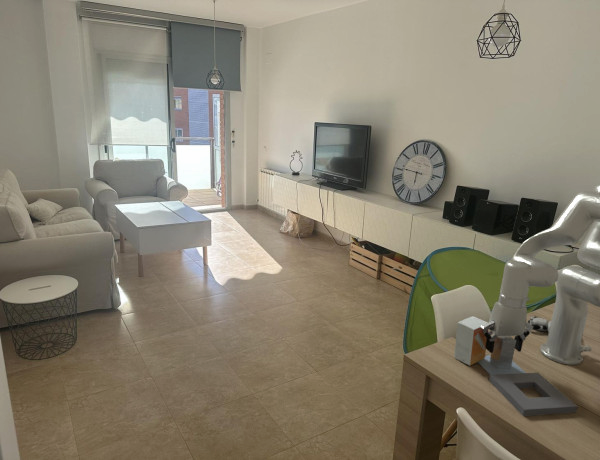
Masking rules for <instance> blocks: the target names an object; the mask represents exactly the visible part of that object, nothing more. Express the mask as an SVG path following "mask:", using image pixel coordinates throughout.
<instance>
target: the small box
mask: <svg viewBox="0 0 600 460" xmlns="http://www.w3.org/2000/svg"><path fill="white" fill-rule="evenodd" d="M487 323H489V321H485V320H483V319H480V318H478V317H476V316H473V315H472V316H470V317H467V318H464V319H462V320H460V321H458V322H457V324H456V326H457V327H456V335H455V346H454V347H455V348H454V354H453V355H454V358H455V359H456V360H458V361H460V362H461V363H464V364H466V365H468V366H472V365H474V364H477V363H478V361H480V360H482V359H484V358H485V356H486V353H487V351H486V350H487V349H486V348H485V345H486V339H487V338H486V337H485V336H484V334H483V333H482V330H481V326H483V325H485V324H487ZM487 331H488V332H489V329H488V330H487Z"/></svg>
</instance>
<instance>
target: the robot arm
mask: <svg viewBox="0 0 600 460" xmlns="http://www.w3.org/2000/svg"><path fill="white" fill-rule="evenodd" d="M569 201H570V202H569V203H568V204H567V205H566V207H565V208H564V209H563V211H562V212H561V213H560V214H559V216H558V217H557V219H556V220H555V221H554V223H553V224H552V225H551V226H550V227H549V228H547V229H544V230H541V231H540V232H538V233H536V234H534V235H532V236H530V237H529V238H528V239H526V240H525V241H523V242H522V244H521V245H520V246H519V247H518V249H517V250H516V251H515V253H514V254H513V256H512V258H511V259H510V260H508V261H506V263H505V264H504V268H503V275H502V280H501V286H500V290H499V297H498V301H496V302H495V303H494V305H493V307H492V310H491V313H490V316H489V320H488V323H487V324H485V325H483V326H481V330H482V333H483V334H484V336H485V337H486V338H487V339H486V345H485V348H486V350H487V351H488V352H489V353H490V354H491V353H493V349H494V344H495V342H494V341H493V340H494V339H495V338H496V337H497V336H511V337H514V338H513V339H515V340H516V344H515V350H516V351H517V352H519V353H520V352H522V348H523V345H524V341H525V340H526V338H527V337H528V336H529V335H530V334H531V331H533V330H532V329H533V326H532V325H531V324H529V323H528V321H527V318H528V315H527V314H528V310H527V307H528V306H526V305H527V302H528V301H529V300H530V297H529V296H528V295H529V294H528V293H529V291H530V290H529V289H530V287H535V288H547V287H551V286H553V285H554V284H556V297H555V303H554V307H553V312H552V315H551V319H550V321H551V325H550V330H549V332H548V334H547V340H546V342H544V343H541V345H540V346H539V348H540V349H539V350H540V352H541V354H543V356H545V357H546V358H548V359H550V360H551V361H555V362H556V363H560V364H565V365H573V366H574V365H575V366H576V365H580V364H581V363H582V362H583V359H584V358H583V356H582V353H584V352H591V351H592V347H591V346H590V345H583V344H582V340H583V335H584V330H585V327H586V322H587V319H588V316H589V315H588V313H589V306H588V303H589V304H591V305H593V306H596V307H598V308H600V273H597V272H595V271H592V270H590V269H587V268H584V267H581V266H577V265H567V266H564V267H562V268H561V269H560V270H559V271H558V269H557V268H556V267H555V266H554V265H552V264H550V263H548V262H545V261H543V260H541V259H539V258H535V257H536V256H537V255H538V254H539V253H540V252H542V251H545V250H547V249H549V248H553V247H562V246H569V245H575V244H578V243H579V242H580V241H581V239H582V237H583V236H584V235H585V234H586V232H587V231H588V230H589V228H590V230H589V231H588V233H587V234H586V236H585V238H584V239H583V241H582V243H581V245H580V246H579V248H578V250H577V255H576V256H577V259H578V261H579V262H581V263H582V264H584V265H585V266H588V267H591V268H594V269H596V270H599V271H600V183H598V184H597V185H595V186H594V187H593V189H592V190H583V191H580V192H578V193H576V194H575V195H574V196H573V197H572V199H571V200H569ZM487 330H488V331H487Z"/></svg>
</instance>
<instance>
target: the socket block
mask: <svg viewBox="0 0 600 460" xmlns="http://www.w3.org/2000/svg"><path fill="white" fill-rule="evenodd" d="M488 381H489V382H490V383H491V384H492V385H493V386H494V387H495V389H497V391H498V392H499V393H500V394H501V395H502V396H503V397H504V398H505V400H506V401H508V402H509V403H510V404H511V405H512V407H514V408H515V409H516V411H517V412H518V413H520V415H521V416H522V417H528V416H543V415H559V414H570V413H571V414H572V413H573V414H575V413H577V410H578V405H577V404H575V403H574V402H573V401H572V400H571V399H570V398H568V397H567V396H566V395H565V394H564V393H563V392H562V391H560V390H559V389H558V388H557V387H556V386H555V385H553V384H552V383H551V382H550V381H549V380H548V379H546V378H545V377H544V376H543V375H542V374H541V373H539V372H526V373H517V374H497V375H490V374H489V379H488ZM521 389H534V390H535V391H536V392H537V393H538V394H540V395H541V396H542V397H528V396H527V395H526V394H525V393H524V392H523V391H522V390H521Z"/></svg>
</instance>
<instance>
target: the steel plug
mask: <svg viewBox="0 0 600 460" xmlns="http://www.w3.org/2000/svg"><path fill="white" fill-rule="evenodd" d="M493 341H494V342H495V344H494V349H493V353H490V355H491V357H490V363H491V364H492V365H493V366H494V367H496V368H497V369H498V370H501V369H511V365H512V361H513V359H514V354H515V350H516V349H515V344H516V340H515V339H514V338H513V336H497V337H496V338H495V339H494V340H493Z"/></svg>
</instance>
